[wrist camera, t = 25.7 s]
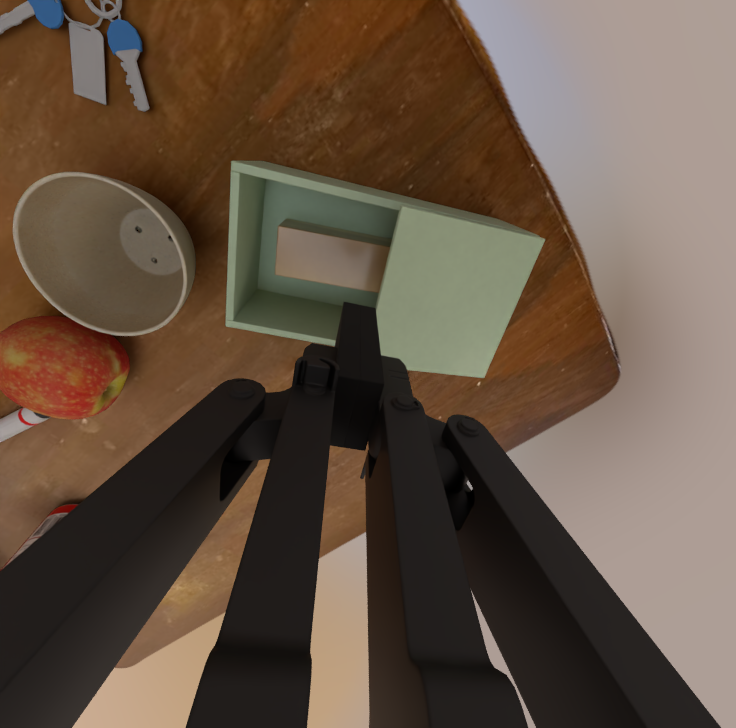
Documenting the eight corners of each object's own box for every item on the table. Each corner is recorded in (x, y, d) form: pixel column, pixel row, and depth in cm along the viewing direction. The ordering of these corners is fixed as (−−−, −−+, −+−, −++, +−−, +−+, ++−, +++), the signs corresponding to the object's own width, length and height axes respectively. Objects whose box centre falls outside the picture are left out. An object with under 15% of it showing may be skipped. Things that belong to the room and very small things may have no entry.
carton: (498, 218, 29) (540, 236, 22) (456, 331, 33) (480, 373, 27) (261, 160, 26) (230, 160, 20) (252, 291, 31) (225, 326, 24)
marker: (-20, 449, 38) (-38, 463, 37) (-38, 436, 37) (-57, 450, 36) (89, 395, 35) (75, 407, 34) (73, 380, 35) (58, 391, 33)
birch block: (447, 293, 31) (457, 307, 28) (282, 263, 29) (274, 275, 26) (459, 251, 29) (471, 262, 26) (286, 218, 28) (277, 225, 25)
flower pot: (246, 270, 30) (218, 299, 24) (150, 319, 32) (100, 357, 26) (165, 142, 25) (104, 137, 19) (58, 208, 27) (-30, 221, 21)
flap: (541, 237, 22) (545, 239, 21) (481, 375, 26) (484, 378, 26) (400, 205, 19) (402, 206, 19) (361, 362, 24) (362, 365, 24)
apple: (128, 395, 36) (74, 452, 29) (35, 354, 33) (-50, 406, 26) (155, 334, 32) (101, 381, 26) (54, 283, 30) (-37, 320, 23)
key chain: (137, -149, 19) (129, -161, 18) (244, 28, 22) (240, 24, 22) (-20, 35, 22) (-33, 31, 22) (94, 164, 26) (86, 164, 25)
